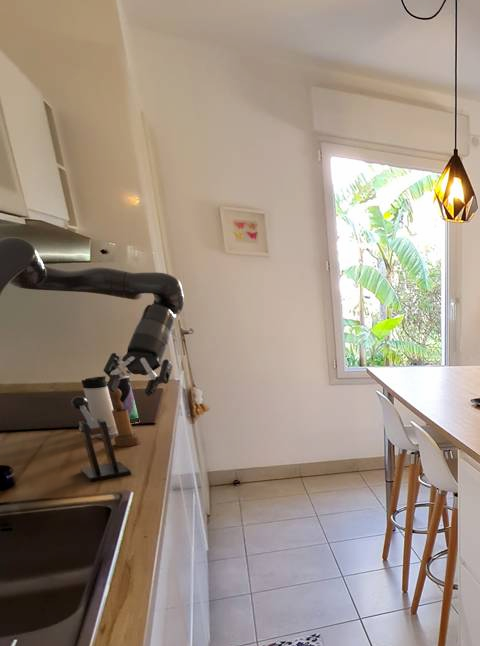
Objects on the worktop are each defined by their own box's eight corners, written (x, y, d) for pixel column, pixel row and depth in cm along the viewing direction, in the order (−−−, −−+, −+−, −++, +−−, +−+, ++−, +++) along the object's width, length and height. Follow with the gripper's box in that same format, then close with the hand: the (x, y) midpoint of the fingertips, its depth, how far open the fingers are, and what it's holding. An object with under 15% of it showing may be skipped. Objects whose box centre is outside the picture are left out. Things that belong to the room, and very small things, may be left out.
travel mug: (114, 438, 182) (99, 378, 174) (92, 438, 181) (75, 378, 173) (124, 433, 187) (110, 374, 180) (103, 433, 186) (87, 374, 179)
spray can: (123, 425, 197) (109, 369, 190) (119, 422, 201) (105, 367, 193) (141, 422, 201) (128, 367, 194) (137, 420, 204) (124, 365, 197)
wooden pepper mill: (112, 444, 176) (97, 388, 170) (135, 439, 181) (122, 385, 175) (120, 448, 173) (106, 391, 166) (144, 443, 178) (130, 388, 171)
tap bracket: (81, 472, 152) (66, 420, 146) (120, 465, 158) (107, 415, 153) (91, 482, 145) (75, 428, 140) (131, 474, 151) (118, 422, 146)
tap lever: (70, 405, 151) (68, 394, 149) (86, 403, 154) (85, 392, 152) (88, 437, 146) (86, 427, 144) (104, 435, 149) (103, 424, 146)
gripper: (112, 328, 141) (90, 380, 135) (172, 335, 143) (153, 387, 137) (127, 346, 148) (107, 397, 142) (184, 353, 150) (166, 403, 144)
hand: (130, 392), depth 139 cm, fingers open, 8 cm apart
